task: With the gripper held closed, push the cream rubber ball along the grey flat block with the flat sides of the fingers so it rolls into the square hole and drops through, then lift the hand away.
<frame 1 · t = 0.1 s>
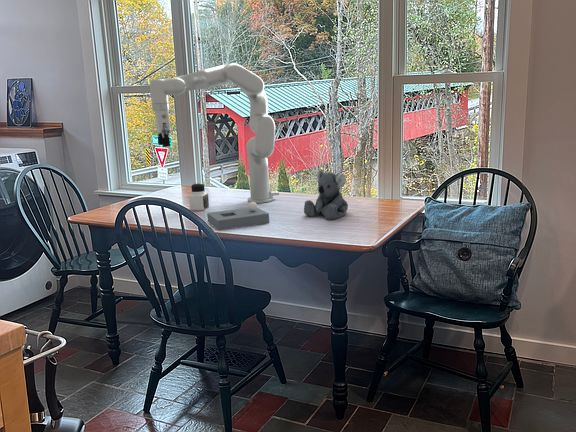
hand: (164, 145, 260), 31 cm above the table, fingers open, 9 cm apart
grey flat block: (238, 222, 243), on the table
ball: (252, 206, 244), point 6 cm above the table, touching grey flat block
koala plush: (329, 215, 250), on the table
medicine bottle: (199, 209, 272), on the table
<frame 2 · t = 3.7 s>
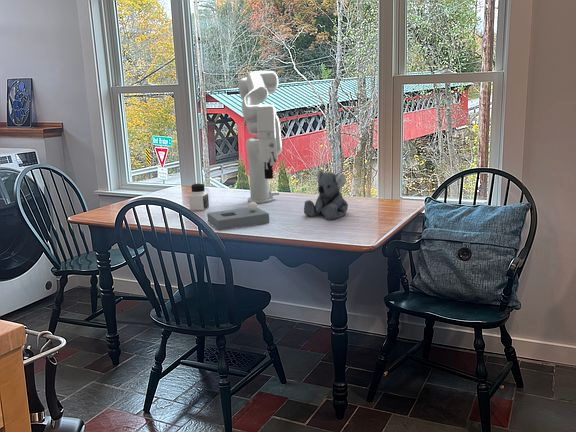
hand: (268, 178, 244), 17 cm above the table, fingers closed
nothing on the table moved.
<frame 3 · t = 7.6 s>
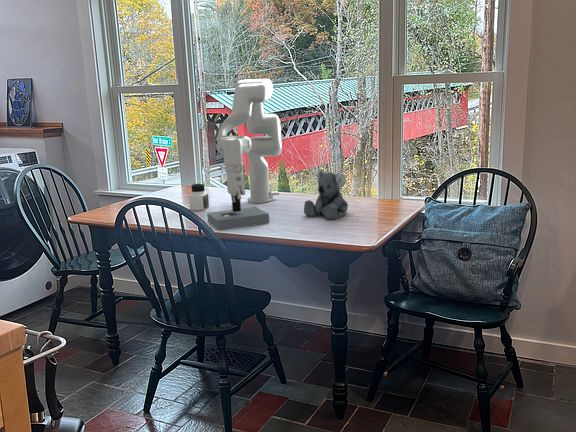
hand: (236, 211, 242), 5 cm above the table, fingers closed
ball: (227, 219, 240), point 2 cm above the table, tilted 16°
everything else where it was.
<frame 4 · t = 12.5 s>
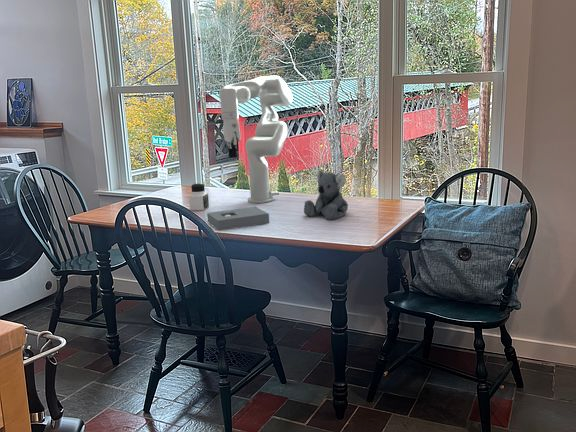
hand: (232, 157, 257), 25 cm above the table, fingers closed
ball: (228, 219, 240), point 2 cm above the table, tilted 5°
everything else where it was.
at the end: ball 0.8 cm from the target spot on the grey flat block, point 2.0 cm above the grey flat block's base; ball moved 12.2 cm from its start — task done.
